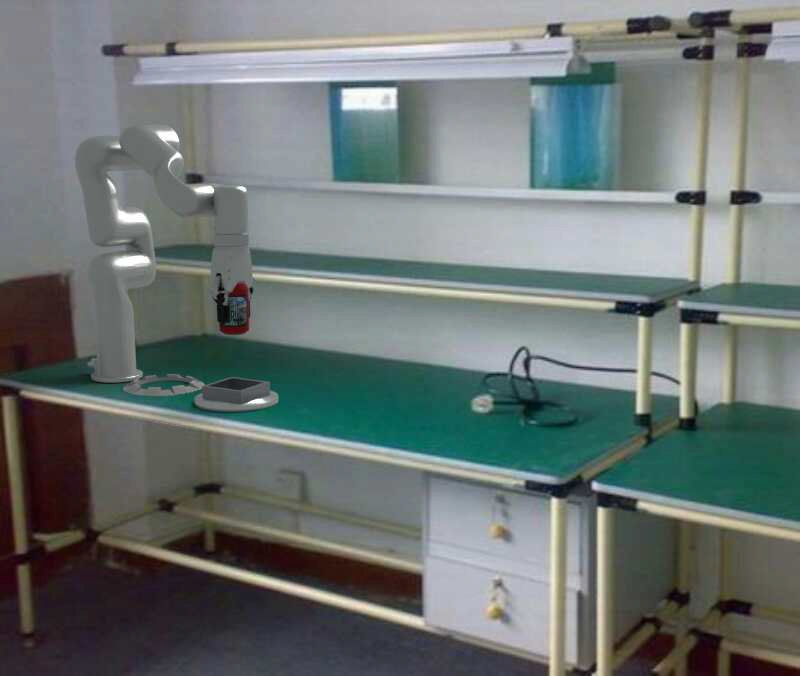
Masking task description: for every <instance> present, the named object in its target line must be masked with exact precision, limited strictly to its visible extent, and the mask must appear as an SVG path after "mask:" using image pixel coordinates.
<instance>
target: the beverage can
mask: <svg viewBox="0 0 800 676" xmlns="http://www.w3.org/2000/svg"><path fill="white" fill-rule="evenodd" d="M221 291H225V289H224V288H221ZM229 294H230V296H229V300H228V304H227V305H230V322H229V323H222V322H218V324H219V325H218V327H219V332H221V333H223V335H226V336H240V335H241V336H242V335H245V334H246V333H247V332H248V331H250V318H249V301H250V300H249V294H248V286H247V285H246V283H245V281H243V282H237V285H236V286H235V288H234V290H233V292H231V293H229ZM224 295H225V294H221V296H222V297H223V298H224Z"/></svg>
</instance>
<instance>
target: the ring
mask: <svg viewBox="0 0 800 676" xmlns="http://www.w3.org/2000/svg"><path fill="white" fill-rule="evenodd" d="M157 382H182V383H183V382H184V383H188V384H189V385H187V386H185V385H183V384H181V385H174V386H171V388H170V389H162V387H161V386H159V387H157V386H156V387H155V386H154V387H152V386H149V387H148V388H147V389H146V388H145V389H144V388H142V386H141V385H144V384H149V383H157ZM204 385H206V384H205V383H204V382H203V381H201V380H199V379H197V378H195V377H193V376H189V375H186V376H185V377H183V376H182V375H180V374H175V373H174V374H170V373H169V374H166V377H157V374H156V375H155V374H154V375H147V376H144V377H142V378H140V379H136V380H133V381H130V383H127V384H125V385H124V386H123V388H122V390H123V391H124V392H125V393H126V394H130V395H135V396H141V397H142V396H143V397H170V396H179V394H181V395H186V394H185V393H187V394H191V393H195V392H198V391H200V390H202V386H204ZM197 390H198V391H197ZM194 391H195V392H194ZM190 392H191V393H190Z"/></svg>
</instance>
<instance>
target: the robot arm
mask: <svg viewBox="0 0 800 676" xmlns="http://www.w3.org/2000/svg"><path fill="white" fill-rule="evenodd" d="M179 150H180V139H179V136H178V134H177V132H176V131H175V130H174V129H173V128H172V127H171V126H168V125H167V124H160V123H158V124H155V123H154V124H150V123H149V124H146V123H145V124H141V123H140V124H139V123H138V124H133V125H130V126H127V127H126V128H125V129H124V130H123V131H122V132H121V133H120V135H98V136H97V135H96V136H92V137H88V138H86V139H84V140H83V141H82V142H81V143H79V145H78V147H77V149H76V153H75V157H74V167H75V171H76V175H77V177H78V180H79V184H80V187H81V190H82V196H83V204H84V210H85V217H86V224H87V225H86V226H87V230H88V235H89V238H90V241H91V243H92V244H93V245H95V246H96V247H100V248H111V247H112V248H113V247H123V246H124V247H125V250H122V251H121V250H120V251H119V250H118V251H113V252H105V253H101V254H98V255H96V256H95V257H93V258H92V259H91V261H89V263H88V266H87V277H88V282H89V285H90V289H91V290H90V291H91V295H92V303H93V315H94V326H95V327H94V329H95V347H96V349H95V350H96V358H91V359H90V361H88V362H87V367H88V368H94V372H92V373H91V374H90V376H91V378H90V379H91V380H92V381H94V382H97V383H98V382H99V383H127V382H132V381H134V380H136V379H139V380H141V379H142V378H143V376H144V372H143V371H142V370H141V369H137V357H136V353H137V352H136V335H135V334H136V333H135V314H134V307H133V306H134V305H133V303H132V301H131V299H130V297H129V296H128V294H127V292H126V290H130V289H135V288H136V289H138V288H143V287H147V286H149V285H150V284H152V283H153V282H154V281H155V279H156V275H157V260H156V252H155V247H154V239H153V231H152V226H151V222H150V219H149V218H148V215H147V214H146V213H145V212H144V211H143V210H142V209H141V208H139V207H135V206H125V207H124V206H122V205H121V200H120V193H119V189H118V187H117V185H116V183H115V181H114V180H113V178H112V177H111V176H110V175H109V174H108V172H121V171H122V172H123V171H138V170H142V171H144V172H145V173H146V174H148V176H149V177H151V178H152V179H153V187H154V191H155V194H156V196H157V199H158V200H159V201H160V202H161V204H162V205H164V207H166V208H167V209H168V210H169V211H170V212H172V213H173V214H175V215H176V216H178V217H180V218H183V219H198V218H213V221H214V222H213V223H214V224H213V225H214V229H213V230H214V231H213V232H214V248H213V249H212V254H211V262H210V286H209V288H208V293H209V294H210V295H211V298H212V299H213V301H214V304H215V305H216V318H217V319H216V321H217V323H219V322H222V323H229V322H230V305H227V304H228V300H229V296H230V294H229V293H231V292H233V290H234V288H235V286H236V285H237V282H243V281H245V283H246V285H247V286H248V294H249V319H250V318H251V301H252V297H253V296H252V295H253V292H254V289H255V287H256V284H257V281H256V279H255V278H254V277H253V266H252V265H253V264H252V255H251V250H250V245H249V244H250V242H249V205H248V202H249V201H248V200H249V198H248V190H247V189H246V187H245V186H242V185H236V184H235V185H232V184H231V185H227V184H226V185H225V184H222V183H216V182H215V183H214V182H213V183H212V182H210V183H190V184H186V183H184V182H183V181H181V180H180V179H179V176H180V175H181V174H182V171H183V170H184V166H185V161H184V158H183V156H182V154H181V153H180V152H179ZM221 288H224V289H225V291H221ZM221 294H225V295H224V298H223V297H222V296H221Z"/></svg>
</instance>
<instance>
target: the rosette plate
mask: <svg viewBox="0 0 800 676" xmlns="http://www.w3.org/2000/svg"><path fill="white" fill-rule="evenodd" d="M278 402H279V394H278V393H277V392H275V391H274V390H271V381H266V380H256V379H250V378H241V377H234V376H231V377H227V378H225V379H220V380H218V381H214V382H211V383H208V384H205V385H204V386H202V389H201V392H200V393H199V394H196V396H194V405H195V407H197V408H198V409H201V410H204V411H210V412H217V413H242V412H243V413H244V412H252V411H253V412H254V411H261V410H264V409H268V408H271V407H273V405H274V406H276V405H277V404H278Z"/></svg>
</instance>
